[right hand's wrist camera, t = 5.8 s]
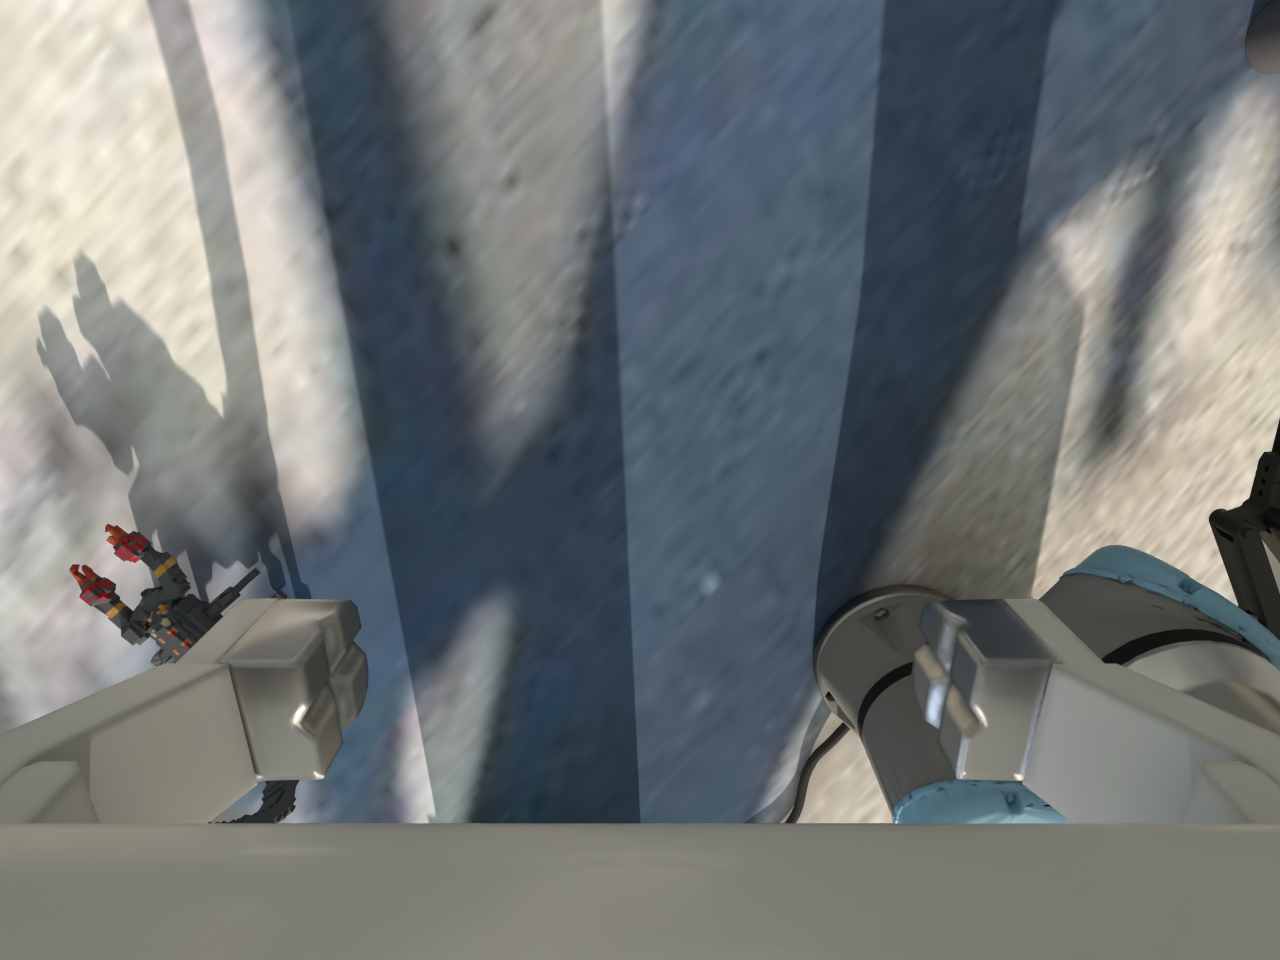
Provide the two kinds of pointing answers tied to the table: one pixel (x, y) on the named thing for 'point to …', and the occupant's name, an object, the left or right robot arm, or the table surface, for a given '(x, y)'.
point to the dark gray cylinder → (1265, 39)
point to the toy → (173, 628)
